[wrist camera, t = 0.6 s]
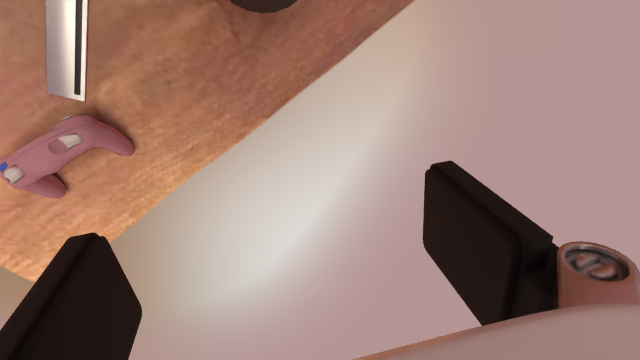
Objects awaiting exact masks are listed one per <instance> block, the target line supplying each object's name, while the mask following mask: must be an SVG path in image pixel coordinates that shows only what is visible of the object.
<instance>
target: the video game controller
mask: <svg viewBox="0 0 640 360" xmlns="http://www.w3.org/2000/svg"><path fill="white" fill-rule="evenodd" d="M93 147H99V148H103V149H106V150H109V151H111V152H114V153H116V154H118V155H121V156H131V155H132V154H133V153H134V148H133V145H132V143H131V142H130V141H129V139H127V138H126V137H125V136H124V135H123V134H122V133H120V132H119V131H118V130H116V129H114V128H112V127H111V126H109V125H106V124H104V123H101V122H99V121H96V120H95V119H94V117H93V116H89V115H81V116H76V115H69V116H66V117H65V118H64V119H63V120H62V122H60V123H59V124H57V125H56V126H55V127H54V128H53V129H52V131H50V132H48V133H46V134H44V135H42V136H40V137H38V138H36V139H34V140H33V141H31V142H29V143H27V144H26V145H24V146H23V147H21V148H20V149H18V150H16V151H15V152H14V153H12V154H9V155H6V156H4V157H2V158H0V176H1V177H2V178H3V179H4V180H5V181H6V182H7V183H9V184H10V185H11V186H13V187H15V188H17V189H21V190H25V191H29V192H32V193H35V194H38V195H41V196H44V197H48V198H61V197H63V196H64V195H65V194H66V189H65V186H64V185H63V183H62V182H61V181H60V180H59V179H58V178H56V177H55V176H53V175H52V173H55V172H57V171H59V170H60V169H62V168H63V167H64V166H65V165H66V164H67V163H68V162H69V161H70V160H71V159H73V158H74V157H76V156H78V155H80V154H82V153H83V152H85V151H87V150H88V149H90V148H93Z"/></svg>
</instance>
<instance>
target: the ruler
mask: <svg viewBox="0 0 640 360" xmlns="http://www.w3.org/2000/svg"><path fill="white" fill-rule="evenodd" d="M87 31H88V0H46V61H47V94H52V95H56V96H61V97H66V98H70V99H75V100H80V101H84V102H85V100H86V65H87Z"/></svg>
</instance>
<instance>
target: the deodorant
mask: <svg viewBox="0 0 640 360" xmlns="http://www.w3.org/2000/svg"><path fill="white" fill-rule="evenodd" d="M230 1H231V2H232V3H234V4H236V5H237V6H239V7H241V8H243V9H245V10H248V11H253V12H258V13H269V12H277V11H279V10H282V9H284V8H287V7H289V6H291V5H292V4H293V3H294V2H296V1H297V0H230Z"/></svg>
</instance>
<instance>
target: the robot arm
mask: <svg viewBox="0 0 640 360" xmlns="http://www.w3.org/2000/svg"><path fill="white" fill-rule="evenodd" d="M423 223H424V224H423V243H424V247H425V249H426V251H427V253H428V254H429V255H430V257H431V258H432V259H433V261H434V262H435V263H436V265H437V266H438V267H439V269H440V270H441V271H442V273H443V274H444V275H445V276H446V278H447V279H448V281H449V282H450V283H451V285H452V286H453V287H454V289H455V290H456V291H457V293H458V294H459V295H460V297H461V298H462V299H463V301H464V302H465V303H466V305H467V306H468V308H469V309H470V310H471V312H472V313H473V314H474V316H475V317H476V318H477V320H478V321H479V322H480V324H481V325H482V326H480V327H476V328H472V329H468V330H464V331H460V332H456V333H453V334H449V335H445V336H441V337H437V338H434V339H430V340H426V341H422V342H418V343H414V344H411V345H407V346H403V347H399V348H395V349H392V350H388V351H384V352H380V353H376V354H372V355H369V356H365V357H361V358H357V359H353V360H640V272H639V270H638V269H637V267H636V265H635V264H634V263H633V262H632V261H631V260H630V259H629V258H628V257H626V256H625V255H623V254H621V253H620V252H618V251H616V250H613V249H611V248H609V247H606V246H603V245H600V244H596V243H590V242H581V241H580V242H570V243H567V244H564V245H562V246H561V247H560V248H559V247H557V246H556V245H555V244H553V243H552V240H553V236H551V235H550V234H549V233H547V232H546V231H545V230H543V229H542V228H541V227H539V226H538V225H537V224H535V223H534V222H533V221H531V220H530V219H529V218H527V217H526V216H525V215H523V214H522V213H521V212H519V211H518V210H517V209H515V208H514V207H513V206H511V205H510V204H509V203H507V202H506V201H505V200H503V199H502V198H501V197H499V196H498V195H497V194H495V193H494V192H493V191H491V190H490V189H489V188H487V187H486V186H485V185H483V184H482V183H481V182H479V181H478V180H477V179H475V178H474V177H473V176H471V175H470V174H469V173H467V172H466V171H465V170H463V169H462V168H461V167H459V166H458V165H457V164H455V163H454V162H453V161H446V162H440V163H436V164H432V165H431V167H430V169H429V170H427V171H426V173H425V191H424V221H423ZM141 317H142V309H141V305H140V303H139V301H138V299H137V297H136V295H135V293H134V291H133V289H132V287H131V285H130V283H129V281H128V279H127V278H126V275H125V274H124V272H123V270H122V268H121V266H120V264H119V262H118V260H117V258H116V256H115V254H114V253H113V250H112V248H111V246H110V244H109V243H108V241H107V239H106V238H105V237H103V236H100V237H99V235H97V234H96V233H89V234H84V235H79V236H74V237H70V238H69V239H68V240H67V241H66V242H65V243H64V245H63V246H62V248H61V249H60V250H59V252H58V253H57V254H56V256H55V257H54V258H53V260H52V261H51V262H50V264H49V265H48V266H47V268H46V269H45V271H44V272H43V273H42V275H41V276H40V277H39V279H38V280H37V281H36V283H35V284H34V286H33V287H32V288H31V290H30V291H29V292H28V294H27V295H26V296H25V298H24V299H23V300H22V302H21V303H20V305H19V306H18V307H17V309H16V310H15V311H14V313H13V314H12V315H11V317H10V318H9V319H8V321H7V322H6V324H5V325H4V326H3V328H2V329H1V330H0V360H128V358H129V355H130V352H131V349H132V346H133V343H134V339H135V336H136V333H137V330H138V327H139V324H140V321H141Z"/></svg>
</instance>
